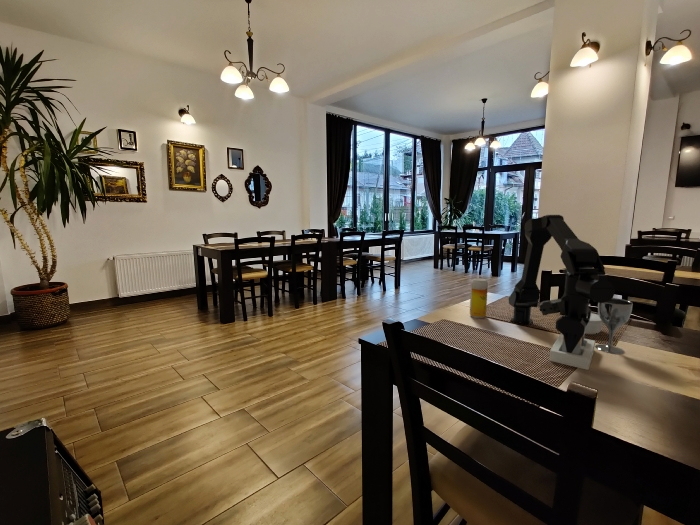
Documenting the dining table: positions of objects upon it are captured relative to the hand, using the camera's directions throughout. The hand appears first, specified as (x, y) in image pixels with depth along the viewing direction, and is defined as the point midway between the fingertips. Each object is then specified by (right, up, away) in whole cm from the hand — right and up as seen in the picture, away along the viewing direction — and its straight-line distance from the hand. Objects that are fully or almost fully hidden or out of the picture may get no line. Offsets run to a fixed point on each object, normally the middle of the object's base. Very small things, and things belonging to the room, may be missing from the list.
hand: (571, 347), depth 93 cm
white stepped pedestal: (+3, -3, +4) cm, 6 cm away
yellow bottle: (-11, +2, +40) cm, 41 cm away
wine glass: (+16, -3, +8) cm, 18 cm away
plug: (0, -3, 0) cm, 3 cm away
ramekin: (+20, 0, +24) cm, 31 cm away
